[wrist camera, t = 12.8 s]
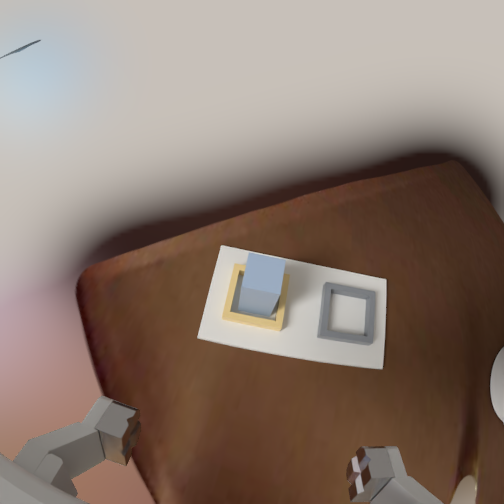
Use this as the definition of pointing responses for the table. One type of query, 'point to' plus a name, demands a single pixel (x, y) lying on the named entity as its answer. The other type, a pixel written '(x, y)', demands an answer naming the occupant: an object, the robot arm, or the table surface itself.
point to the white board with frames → (300, 313)
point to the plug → (261, 284)
